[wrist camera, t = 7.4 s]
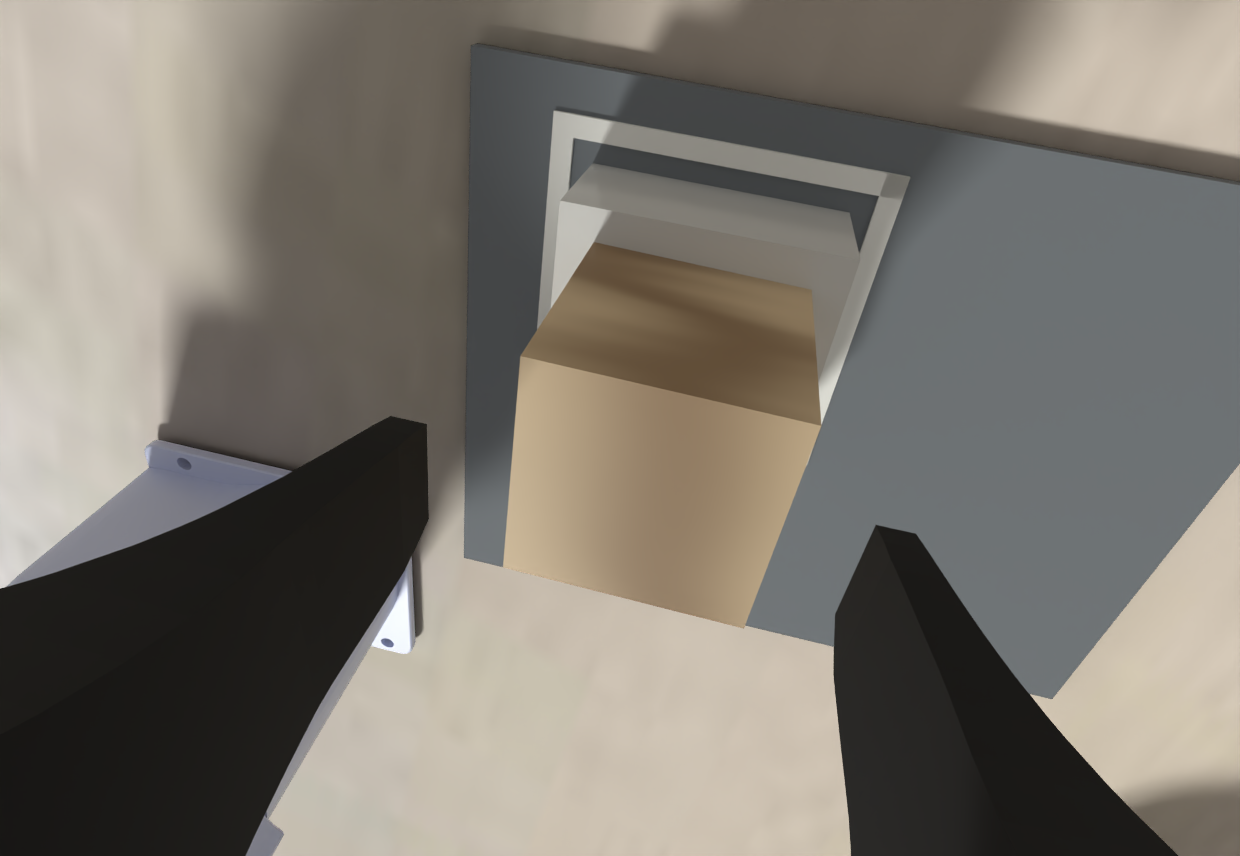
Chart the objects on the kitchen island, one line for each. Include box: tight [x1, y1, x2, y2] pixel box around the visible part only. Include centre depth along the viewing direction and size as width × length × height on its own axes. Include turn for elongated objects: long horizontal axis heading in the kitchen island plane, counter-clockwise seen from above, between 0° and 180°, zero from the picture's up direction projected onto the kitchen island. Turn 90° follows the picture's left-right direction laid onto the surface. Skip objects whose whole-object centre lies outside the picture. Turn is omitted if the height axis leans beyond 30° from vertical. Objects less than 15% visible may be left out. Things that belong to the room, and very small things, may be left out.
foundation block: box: [551, 163, 860, 382], centre depth 17 cm, size 6×6×3 cm
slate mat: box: [464, 43, 1240, 699], centre depth 20 cm, size 20×16×1 cm
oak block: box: [503, 242, 821, 628], centre depth 14 cm, size 4×4×5 cm
